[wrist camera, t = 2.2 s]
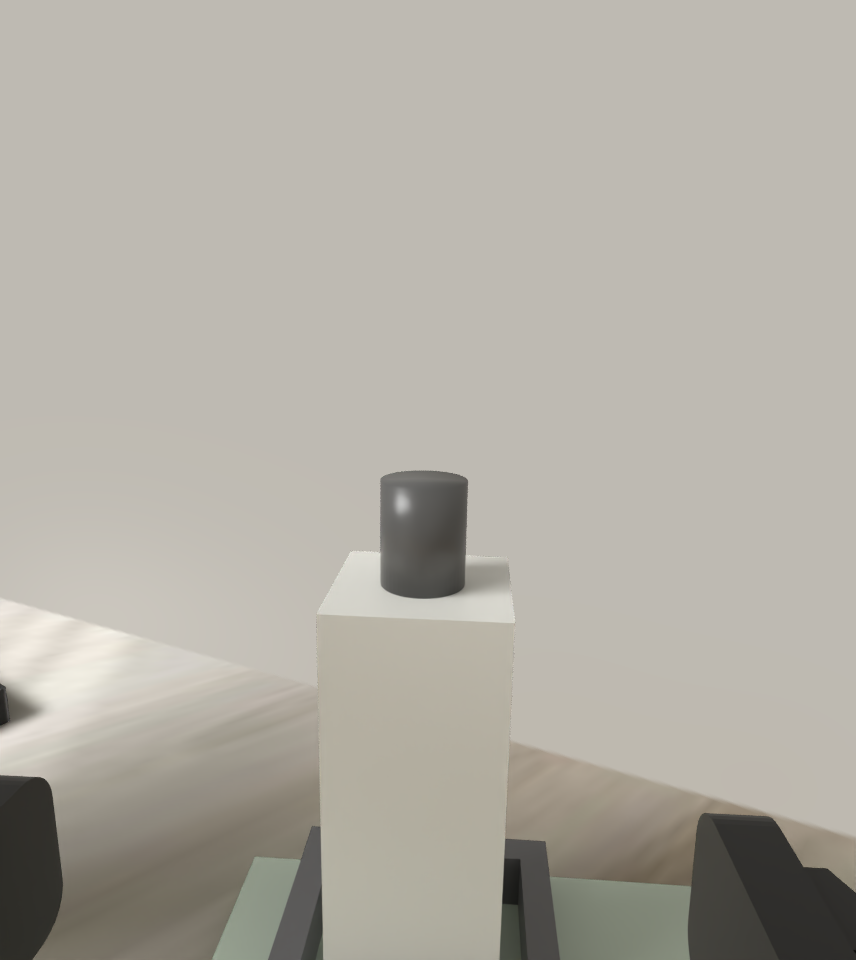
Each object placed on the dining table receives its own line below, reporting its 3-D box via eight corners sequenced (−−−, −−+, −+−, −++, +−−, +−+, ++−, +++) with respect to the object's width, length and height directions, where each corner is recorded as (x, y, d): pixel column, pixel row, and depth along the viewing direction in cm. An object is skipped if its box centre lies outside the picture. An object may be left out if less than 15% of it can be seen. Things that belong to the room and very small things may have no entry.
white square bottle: (325, 1053, 21) (314, 499, 17) (354, 915, 26) (350, 459, 22) (494, 1068, 21) (520, 506, 17) (491, 925, 25) (511, 464, 22)
